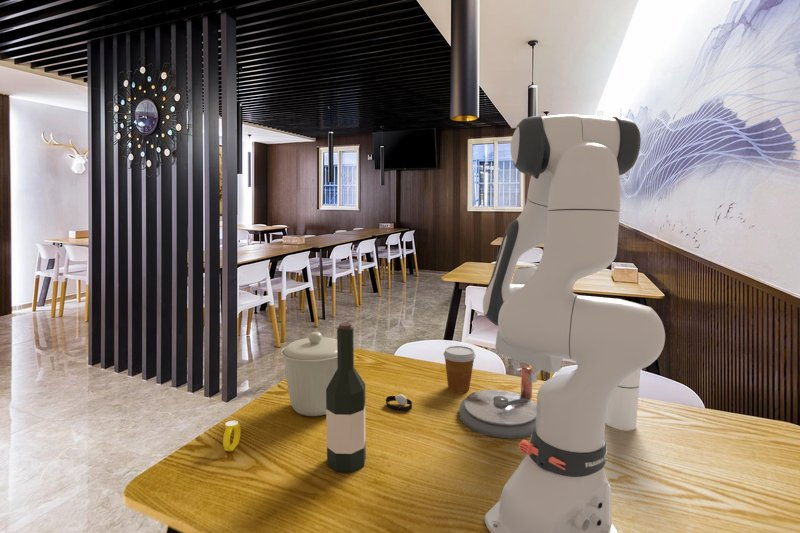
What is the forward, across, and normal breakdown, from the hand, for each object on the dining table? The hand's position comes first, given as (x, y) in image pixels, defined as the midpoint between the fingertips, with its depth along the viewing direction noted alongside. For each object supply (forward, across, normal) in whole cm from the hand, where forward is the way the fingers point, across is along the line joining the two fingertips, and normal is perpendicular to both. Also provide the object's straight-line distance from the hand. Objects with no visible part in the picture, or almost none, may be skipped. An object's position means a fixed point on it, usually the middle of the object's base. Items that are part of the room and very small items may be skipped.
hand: (525, 378), depth 113 cm
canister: (+9, -30, -48) cm, 57 cm away
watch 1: (+10, -20, -71) cm, 74 cm away
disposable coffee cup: (+9, -20, -6) cm, 23 cm away
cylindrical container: (+9, +17, +16) cm, 25 cm away
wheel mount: (+9, 0, -8) cm, 12 cm away
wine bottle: (+10, -2, -51) cm, 52 cm away
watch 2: (+10, -18, -28) cm, 35 cm away
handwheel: (+7, 0, -8) cm, 10 cm away
